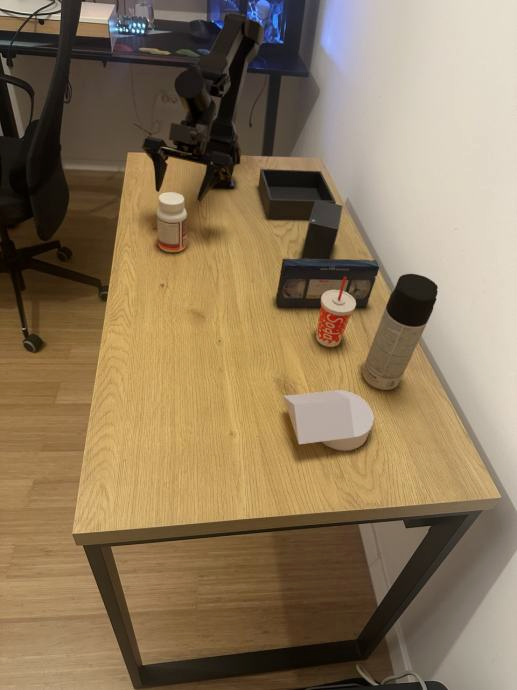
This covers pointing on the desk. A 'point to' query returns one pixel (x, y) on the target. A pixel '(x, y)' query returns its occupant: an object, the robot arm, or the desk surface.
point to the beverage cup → (334, 316)
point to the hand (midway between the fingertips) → (177, 196)
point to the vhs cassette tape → (324, 280)
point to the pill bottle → (172, 222)
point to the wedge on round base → (330, 418)
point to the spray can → (399, 330)
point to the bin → (292, 193)
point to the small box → (322, 230)
